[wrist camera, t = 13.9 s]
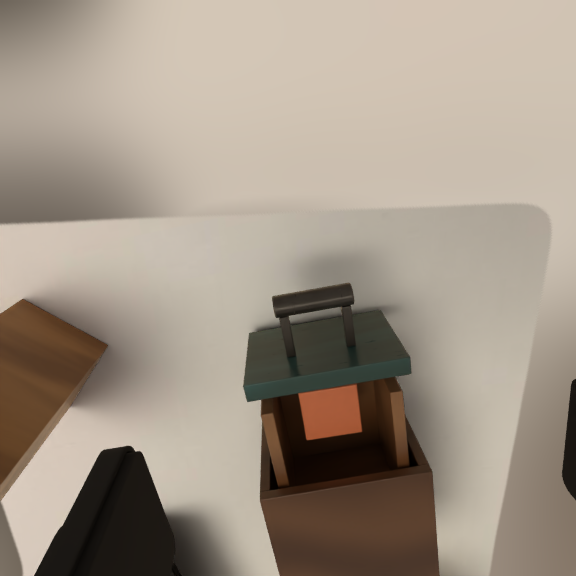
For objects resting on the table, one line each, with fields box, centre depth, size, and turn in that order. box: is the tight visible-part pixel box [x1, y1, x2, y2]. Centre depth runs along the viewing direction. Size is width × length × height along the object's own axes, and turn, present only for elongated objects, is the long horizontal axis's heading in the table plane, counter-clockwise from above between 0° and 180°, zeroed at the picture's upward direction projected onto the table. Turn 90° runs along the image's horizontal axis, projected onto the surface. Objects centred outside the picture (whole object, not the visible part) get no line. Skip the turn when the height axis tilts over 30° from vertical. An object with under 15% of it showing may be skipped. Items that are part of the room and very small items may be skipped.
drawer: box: [243, 283, 411, 489], centre depth 30 cm, size 17×10×7 cm, turn 10°
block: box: [298, 383, 362, 440], centre depth 31 cm, size 4×4×4 cm
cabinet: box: [260, 415, 439, 576], centre depth 34 cm, size 13×11×9 cm
